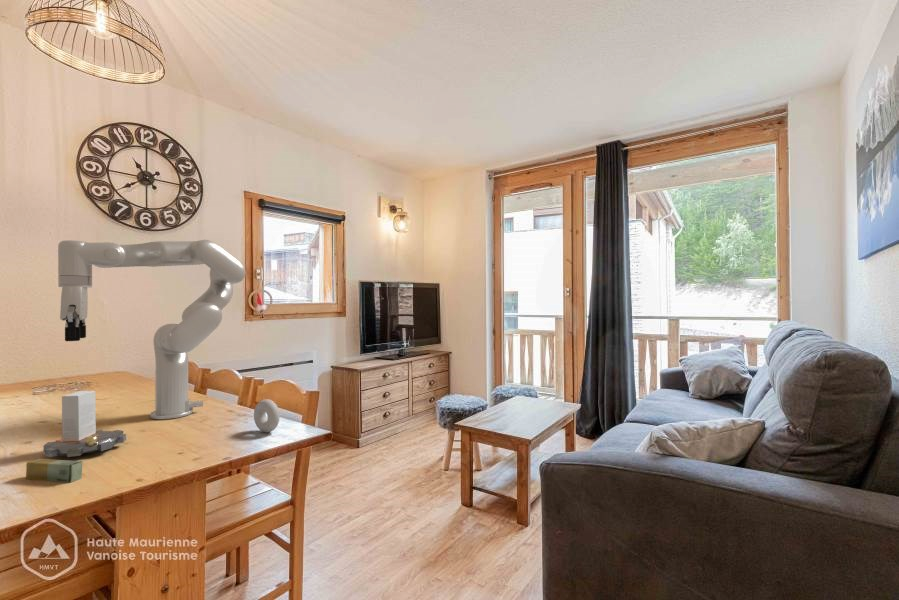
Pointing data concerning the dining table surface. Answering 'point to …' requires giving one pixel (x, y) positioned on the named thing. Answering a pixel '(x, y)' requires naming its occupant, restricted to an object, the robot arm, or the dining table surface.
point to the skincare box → (78, 415)
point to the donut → (272, 414)
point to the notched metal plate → (85, 444)
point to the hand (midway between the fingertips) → (75, 339)
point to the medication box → (54, 470)
